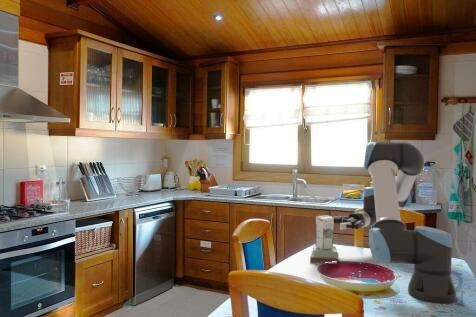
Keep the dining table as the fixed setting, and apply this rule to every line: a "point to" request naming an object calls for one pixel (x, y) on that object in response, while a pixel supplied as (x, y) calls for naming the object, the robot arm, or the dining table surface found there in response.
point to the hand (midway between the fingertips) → (328, 224)
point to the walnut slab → (321, 259)
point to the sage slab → (325, 253)
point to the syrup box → (324, 232)
